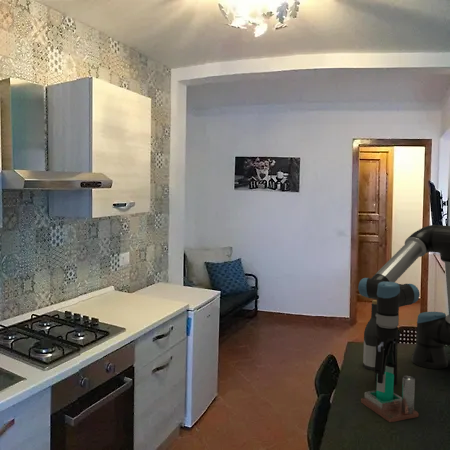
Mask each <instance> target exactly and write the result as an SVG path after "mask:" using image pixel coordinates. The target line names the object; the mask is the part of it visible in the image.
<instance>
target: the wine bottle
mask: <svg viewBox="0 0 450 450" xmlns="http://www.w3.org/2000/svg"><path fill="white" fill-rule="evenodd" d="M376 314H377V299H372V301H371V315H370V319H369V320H368V322H367V323H366V325H365V327H364V332H363V358H362V366H363V368H364V369H366V370H369V371H375V359H376V345H377V339H376V325H377V323H376V319H377V317H376V316H375V315H376Z"/></svg>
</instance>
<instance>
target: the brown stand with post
mask: <svg viewBox="0 0 450 450" xmlns="http://www.w3.org/2000/svg"><path fill="white" fill-rule="evenodd" d="M415 384H416V378H415V377H414V376H411V375H403V376H402V386H401V388H402V389H401V390H402V391H401V396H400V395H399V394H397V393H395V391H393V400H389V401H381V400H380V399H378V398H376V390H374V389H373V390H369V391H365V392H364V397H363V398H360V403H361V404H363V405H364V406H366V407H367V408H369V409H370V410H371V411H373V412H375V414H377V415H378V416H380V417H382V418H383V419H384V420H385V421H387V422H389V423H394V422H400V421H404V420H409V419H414V418H418V417H419V414H420V413H419V412H418V411H416V410H415V387H416V385H415Z"/></svg>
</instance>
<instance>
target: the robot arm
mask: <svg viewBox="0 0 450 450" xmlns="http://www.w3.org/2000/svg"><path fill="white" fill-rule="evenodd" d="M428 253H435V254H436V253H438V254H439V257H440V260H441V261H442V262H443V263H444V268H445V283H446V293H447V295H446V296H447V305H448V314H446V313H445V312H442V311H425V312H424V311H423V312H420V313H419V314H418V315H417V319H416V320H417V321H416V344H415V347H414V350H413V353H412V355H411V362H412V363H413V364H415V365H416V366H419V367H422V368H425V369H426V368H427V369H432V370H435V369H436V370H441V369H446V368H447V367H448V366H449V359H448V357H447V353H446V350H445V346H448V347H450V225H441V224H432V225H431V224H430V225H427V226H423V227H422V228H419V229H418V230H416V231H415V232H413V233H411V234H410V235H409V236H408V237H407V238H406V239H405V241H404V245H402V246H401V248H399V250H398V251H397V252H396V253H395V254H394V255H393V256H391V258H390V259H388V261H387V262H386V263H385V264H384V265H383V266H382V267H381V268H380V269H379V270H378V271H377V272H376V273H375V274H374V275H373V276H372V277H364V278H361V279H360V280H359V282H358V286H357V287H358V288H357V289H358V293H359V295H361V297H364V298H368V299H372V300H377V314H376V315H375V316H376V317H377V319H376V323H377V325H376V335H377V336H378V337H380V342H379V345H376V359H375V371H374V374H375V373H377V382H376V388H377V391H381V392H385V374H384V372H385V366H386V362H387V366H386V372H389V373H392V374H393V372H394V368H393V367H395V368H396V365H395V364H396V341H397V337H399V327H398V326H399V324H400V323H399V322H400V321H399V320H400V319H399V316H400V315H399V314H400V313H399V312H400V308H401V307H404V306H405V307H406V306H410V305H413V304H415V303H417V302H418V301H419V299H420V289H419V288H418V287H417V286H416V285H415V284H413V283H404V284H403V283H401V284H400V283H397V281H398V280H399V279H400V277H401V276H402V275H404V273H405V272H406V271H407V270H408V269H410V267H411V266H412V264H414V263H415V262H416V260H417V259H419V258H421V257H424V256H425V255H426V254H428Z"/></svg>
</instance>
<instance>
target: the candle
mask: <svg viewBox="0 0 450 450" xmlns="http://www.w3.org/2000/svg"><path fill="white" fill-rule="evenodd" d="M384 374H385V392H381V391H377V387H376V398H378V399H380V400H381V401H389V400H393V392H395V391H394V388H395V387H394V386H395V385H394V374H392V373H389V372H386V370H385V372H384Z"/></svg>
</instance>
